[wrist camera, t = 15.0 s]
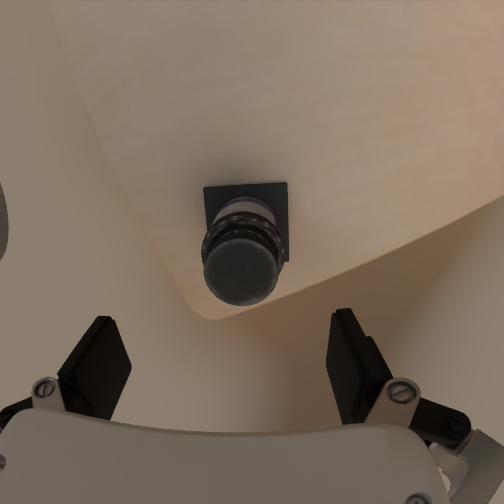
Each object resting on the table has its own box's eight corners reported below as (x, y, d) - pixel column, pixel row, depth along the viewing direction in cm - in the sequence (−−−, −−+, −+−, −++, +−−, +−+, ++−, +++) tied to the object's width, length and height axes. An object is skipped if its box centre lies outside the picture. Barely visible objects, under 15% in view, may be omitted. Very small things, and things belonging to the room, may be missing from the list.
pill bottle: (262, 263, 29) (264, 328, 19) (206, 241, 29) (179, 296, 18) (288, 209, 27) (307, 250, 17) (229, 184, 26) (211, 211, 16)
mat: (212, 262, 30) (211, 265, 29) (204, 187, 27) (203, 188, 27) (288, 259, 30) (288, 261, 29) (286, 182, 27) (287, 183, 26)
